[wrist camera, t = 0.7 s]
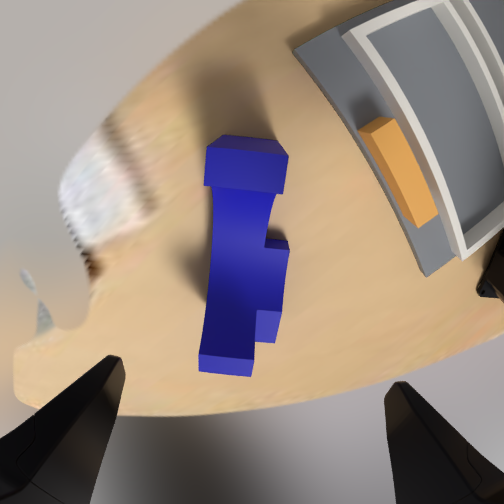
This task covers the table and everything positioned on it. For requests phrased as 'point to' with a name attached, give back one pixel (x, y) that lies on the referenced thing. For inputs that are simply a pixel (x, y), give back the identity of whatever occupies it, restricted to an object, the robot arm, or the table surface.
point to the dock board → (424, 114)
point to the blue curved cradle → (243, 253)
